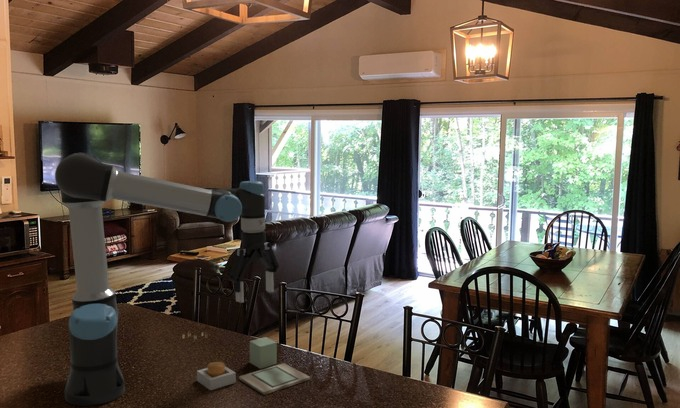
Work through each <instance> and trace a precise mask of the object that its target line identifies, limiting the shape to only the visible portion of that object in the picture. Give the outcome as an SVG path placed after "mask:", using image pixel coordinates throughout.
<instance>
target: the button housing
mask: <svg viewBox="0 0 680 408" xmlns="http://www.w3.org/2000/svg"><path fill="white" fill-rule="evenodd" d="M236 374H237V373H236V372H235V371H234V370H232V369H230V368H229V367H227V366H226V365H225V374H223V375H219V376H216V377H211V376H209V375H208V367H205V368H202V369H199V370H196V382H198V383H200V385H202V386H203V387H205V388H206V389H208V390H210V391H213V390H217V389H219V388H223V387H225V386H229V385H232V384H236V382H237V381H236V380H237V379H236V378H237V375H236Z"/></svg>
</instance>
